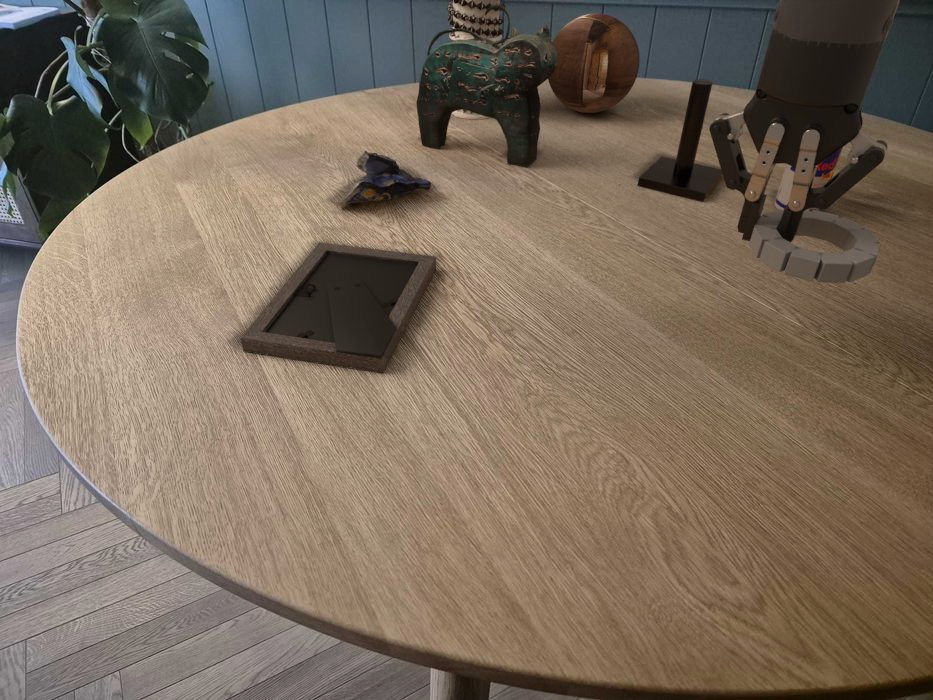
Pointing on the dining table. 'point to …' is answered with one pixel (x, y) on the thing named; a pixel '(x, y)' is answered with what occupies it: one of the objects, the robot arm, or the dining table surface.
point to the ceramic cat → (487, 86)
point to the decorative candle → (474, 29)
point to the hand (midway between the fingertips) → (763, 240)
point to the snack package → (381, 180)
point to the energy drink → (820, 179)
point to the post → (686, 155)
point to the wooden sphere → (594, 63)
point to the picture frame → (343, 307)
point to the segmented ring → (814, 264)
